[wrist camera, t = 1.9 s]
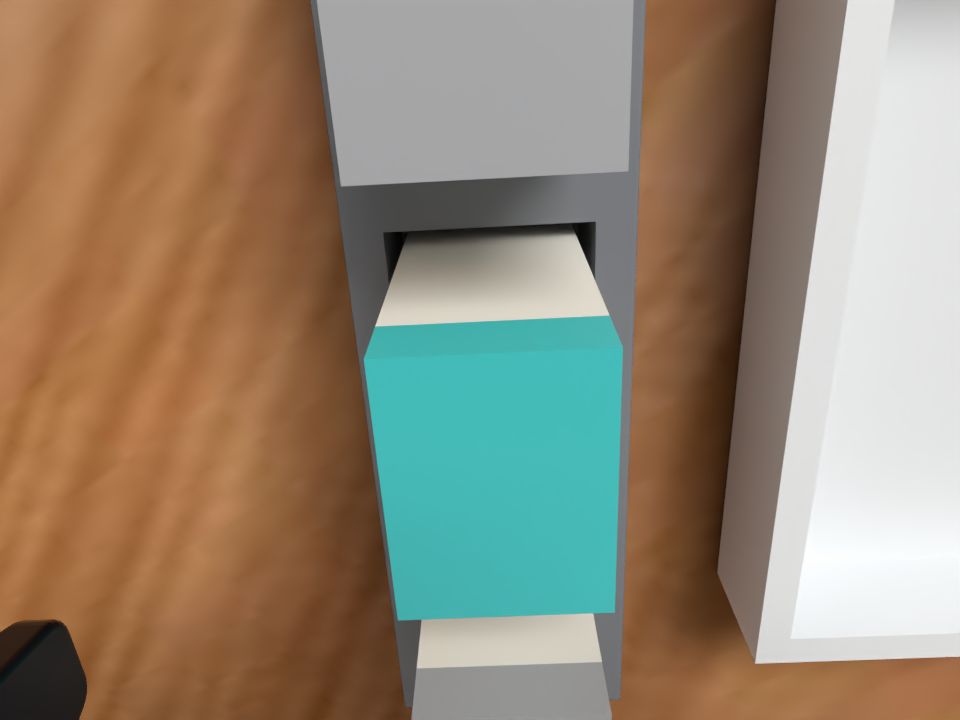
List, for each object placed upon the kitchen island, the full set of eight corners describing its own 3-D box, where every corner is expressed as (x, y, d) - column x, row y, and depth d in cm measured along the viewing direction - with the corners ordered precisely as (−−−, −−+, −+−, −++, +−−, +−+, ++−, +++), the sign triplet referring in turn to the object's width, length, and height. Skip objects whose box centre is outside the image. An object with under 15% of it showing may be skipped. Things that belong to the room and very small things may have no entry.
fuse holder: (601, 606, 20) (619, 700, 17) (415, 613, 20) (405, 707, 17) (618, -222, 12) (656, -288, 10) (320, -203, 13) (275, -262, 10)
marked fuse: (564, 383, 17) (615, 612, 10) (430, 389, 17) (397, 620, 10) (563, 205, 15) (623, 346, 9) (414, 213, 15) (363, 359, 9)
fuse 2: (565, 591, 19) (606, 878, 13) (449, 596, 19) (432, 883, 13) (564, 459, 17) (611, 715, 11) (437, 465, 18) (411, 721, 11)
